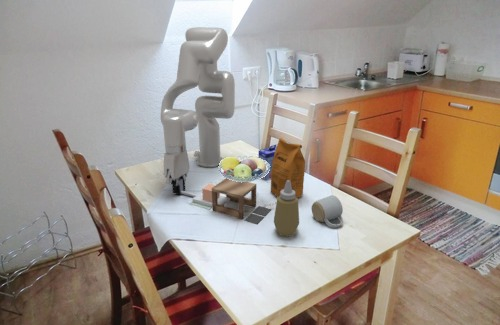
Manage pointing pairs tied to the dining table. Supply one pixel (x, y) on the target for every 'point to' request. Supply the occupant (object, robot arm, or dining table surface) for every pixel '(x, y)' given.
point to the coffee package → (287, 168)
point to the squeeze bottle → (286, 211)
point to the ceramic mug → (328, 210)
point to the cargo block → (208, 192)
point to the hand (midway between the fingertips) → (179, 191)
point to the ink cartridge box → (268, 158)
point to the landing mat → (200, 205)
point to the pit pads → (257, 218)
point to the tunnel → (234, 197)
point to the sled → (199, 198)
